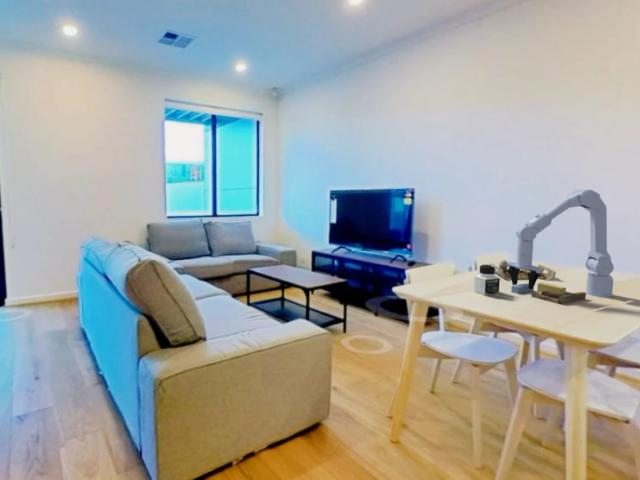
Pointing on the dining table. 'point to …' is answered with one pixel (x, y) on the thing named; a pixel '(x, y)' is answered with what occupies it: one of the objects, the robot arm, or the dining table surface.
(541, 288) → the stick ochre
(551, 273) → the toy food set
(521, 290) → the stick blue
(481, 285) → the medicine bottle
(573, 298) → the comb board
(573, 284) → the dining table surface
